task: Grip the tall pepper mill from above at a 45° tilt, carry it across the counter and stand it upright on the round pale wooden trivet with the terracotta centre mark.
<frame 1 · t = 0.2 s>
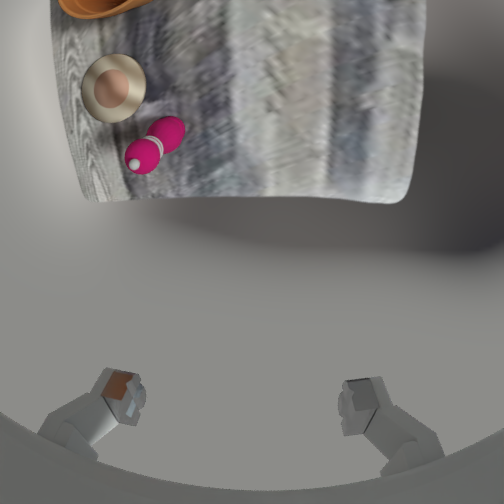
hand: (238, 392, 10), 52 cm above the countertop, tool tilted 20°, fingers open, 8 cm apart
pepper mill: (171, 129, 53), on the countertop
trivet: (113, 87, 46), on the countertop
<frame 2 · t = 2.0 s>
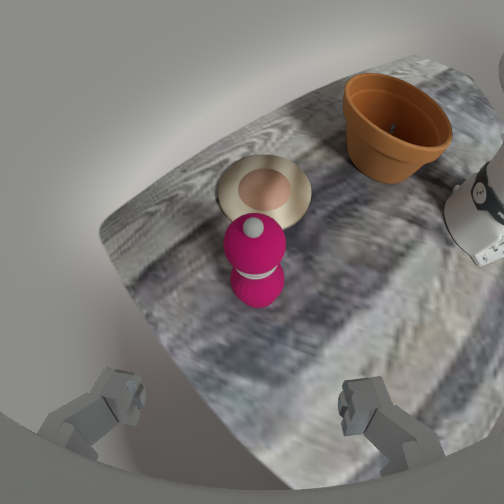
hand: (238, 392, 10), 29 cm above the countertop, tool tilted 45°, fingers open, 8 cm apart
pepper mill: (258, 288, 42), on the countertop
flower pot: (379, 158, 51), on the countertop
trivet: (264, 192, 48), on the countertop
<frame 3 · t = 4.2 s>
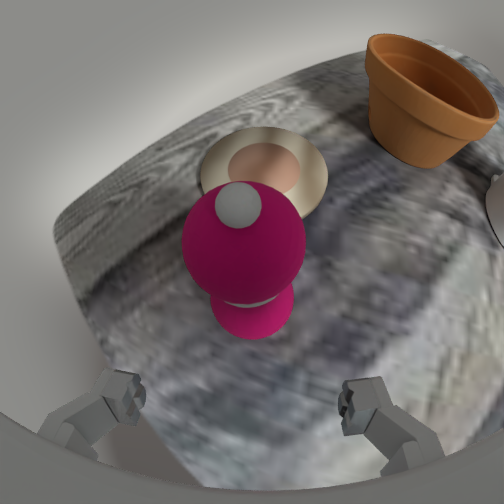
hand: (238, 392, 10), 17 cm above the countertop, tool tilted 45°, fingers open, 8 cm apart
pepper mill: (253, 308, 28), on the countertop
flower pot: (407, 137, 38), on the countertop
trivet: (264, 174, 35), on the countertop
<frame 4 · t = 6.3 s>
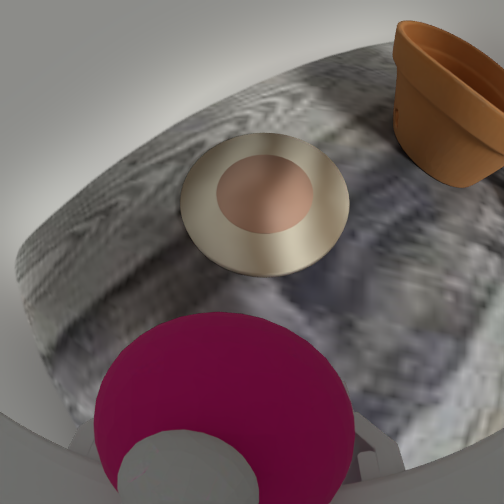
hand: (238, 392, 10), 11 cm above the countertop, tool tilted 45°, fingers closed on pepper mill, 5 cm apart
pepper mill: (250, 385, 20), on the countertop, touching gripper
flower pot: (437, 148, 30), on the countertop
trivet: (264, 197, 27), on the countertop
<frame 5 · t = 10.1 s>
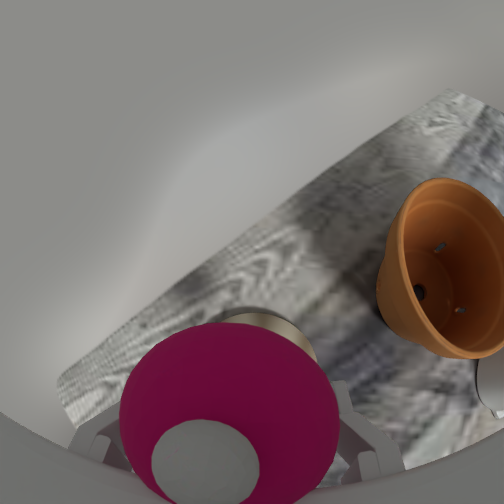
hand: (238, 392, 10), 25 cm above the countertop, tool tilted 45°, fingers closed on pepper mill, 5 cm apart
pepper mill: (251, 382, 21), point 12 cm above the countertop, touching gripper
flower pot: (415, 295, 36), on the countertop
trivet: (253, 374, 33), on the countertop
when the fingers open (14 cm above the countertop, at t = 13.8 s): pepper mill stays where it is, resting on trivet.
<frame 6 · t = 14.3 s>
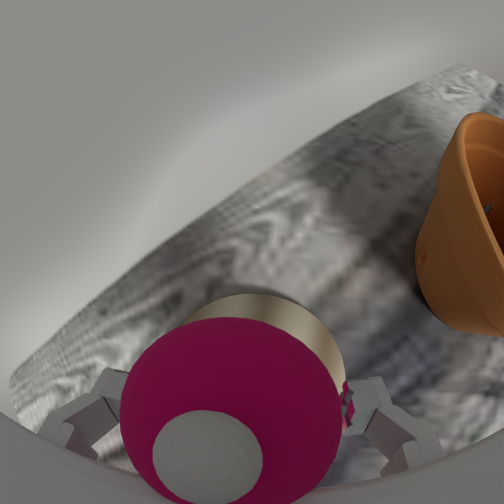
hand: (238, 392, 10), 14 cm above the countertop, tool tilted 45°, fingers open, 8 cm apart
pepper mill: (252, 383, 21), point 1 cm above the countertop, touching trivet
flower pot: (459, 272, 25), on the countertop
trivet: (251, 384, 22), on the countertop
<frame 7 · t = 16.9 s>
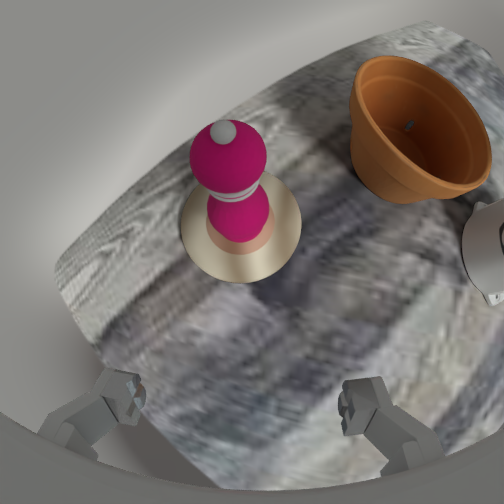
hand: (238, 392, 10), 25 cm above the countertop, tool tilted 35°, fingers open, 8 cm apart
pepper mill: (240, 220, 36), point 1 cm above the countertop, touching trivet
flower pot: (390, 165, 39), on the countertop
trivet: (240, 223, 38), on the countertop
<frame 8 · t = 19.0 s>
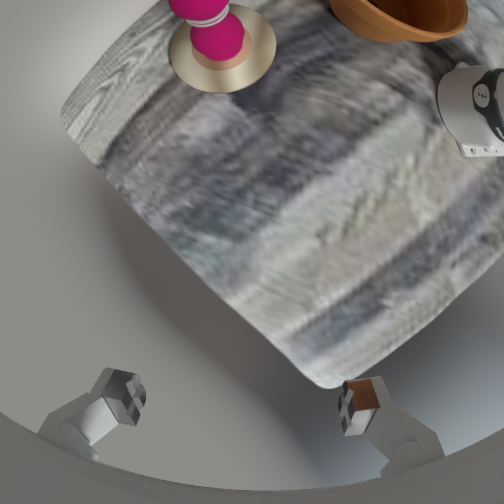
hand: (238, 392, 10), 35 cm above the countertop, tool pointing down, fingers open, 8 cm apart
pepper mill: (221, 44, 32), point 1 cm above the countertop, touching trivet
flower pot: (368, 9, 29), on the countertop
trivet: (222, 47, 33), on the countertop
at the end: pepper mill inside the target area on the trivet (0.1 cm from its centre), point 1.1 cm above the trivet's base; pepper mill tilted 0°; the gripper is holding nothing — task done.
